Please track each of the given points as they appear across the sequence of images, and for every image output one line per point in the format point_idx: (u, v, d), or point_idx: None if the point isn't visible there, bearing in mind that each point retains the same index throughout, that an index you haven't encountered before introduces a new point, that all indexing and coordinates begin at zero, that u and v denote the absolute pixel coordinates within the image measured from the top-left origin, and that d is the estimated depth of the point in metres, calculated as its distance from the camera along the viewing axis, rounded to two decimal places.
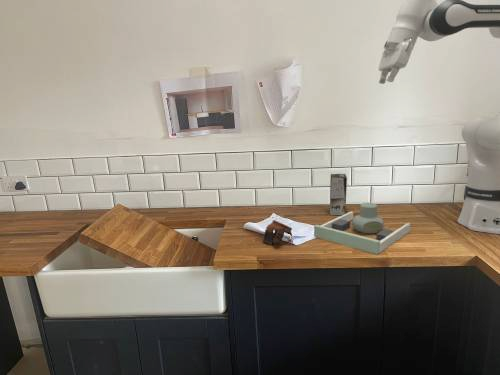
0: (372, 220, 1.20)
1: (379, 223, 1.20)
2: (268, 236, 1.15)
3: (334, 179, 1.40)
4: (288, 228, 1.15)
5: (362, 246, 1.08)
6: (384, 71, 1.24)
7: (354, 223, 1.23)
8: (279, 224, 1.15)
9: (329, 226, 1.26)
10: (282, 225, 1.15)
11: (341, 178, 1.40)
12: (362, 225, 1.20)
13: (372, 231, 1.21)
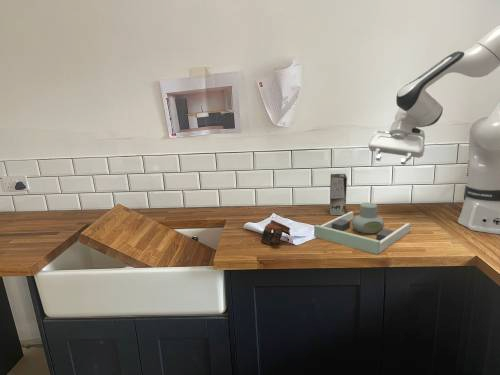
0: (372, 220, 1.20)
1: (379, 223, 1.20)
2: (266, 236, 1.15)
3: (334, 179, 1.40)
4: (286, 228, 1.16)
5: (362, 246, 1.08)
6: None
7: (354, 223, 1.23)
8: (277, 224, 1.15)
9: (329, 226, 1.26)
10: (280, 225, 1.15)
11: (341, 178, 1.40)
12: (362, 225, 1.20)
13: (372, 231, 1.21)
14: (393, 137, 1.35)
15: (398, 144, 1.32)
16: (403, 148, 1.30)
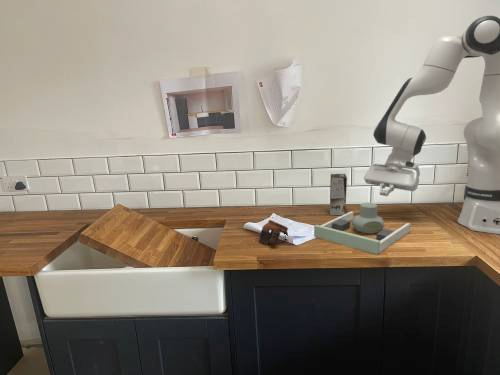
0: (372, 220, 1.20)
1: (379, 223, 1.20)
2: (264, 236, 1.16)
3: (334, 179, 1.40)
4: (284, 228, 1.16)
5: (362, 246, 1.08)
6: None
7: (354, 223, 1.23)
8: (275, 224, 1.15)
9: (329, 226, 1.26)
10: (278, 225, 1.15)
11: (341, 178, 1.40)
12: (362, 225, 1.20)
13: (372, 231, 1.21)
14: (388, 170, 1.36)
15: (392, 178, 1.33)
16: (396, 182, 1.31)
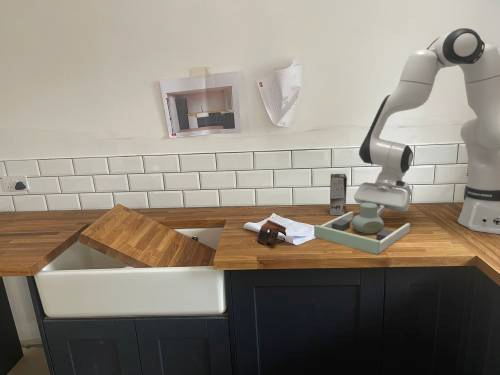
0: (372, 220, 1.20)
1: (379, 223, 1.20)
2: (262, 236, 1.16)
3: (334, 179, 1.40)
4: (282, 227, 1.16)
5: (362, 246, 1.08)
6: None
7: (354, 223, 1.23)
8: (273, 224, 1.16)
9: (329, 226, 1.26)
10: (276, 225, 1.15)
11: (341, 178, 1.40)
12: (362, 225, 1.20)
13: (372, 231, 1.20)
14: (378, 189, 1.31)
15: (382, 198, 1.28)
16: (386, 202, 1.26)
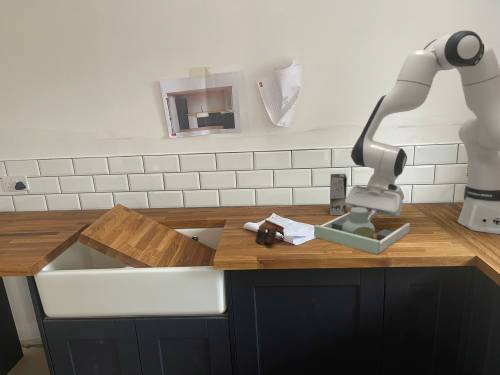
0: (362, 225, 1.15)
1: (370, 229, 1.15)
2: (260, 236, 1.16)
3: (334, 179, 1.40)
4: (280, 227, 1.16)
5: (362, 246, 1.08)
6: None
7: (344, 229, 1.18)
8: (271, 223, 1.16)
9: (329, 226, 1.26)
10: (274, 224, 1.16)
11: (341, 178, 1.40)
12: (352, 231, 1.15)
13: None
14: (369, 193, 1.26)
15: (374, 202, 1.23)
16: (378, 207, 1.21)
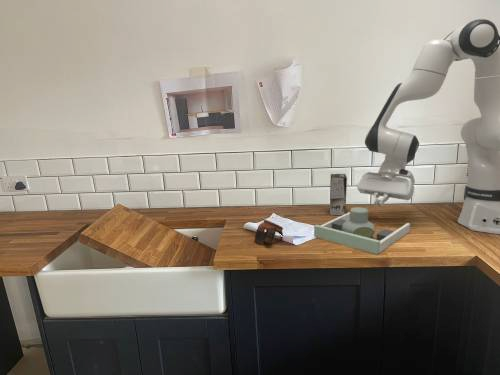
0: (362, 225, 1.15)
1: (370, 229, 1.15)
2: (259, 236, 1.16)
3: (334, 179, 1.40)
4: (279, 227, 1.16)
5: (362, 246, 1.08)
6: None
7: (344, 229, 1.18)
8: (270, 223, 1.16)
9: (329, 226, 1.26)
10: (273, 224, 1.16)
11: (341, 178, 1.40)
12: (352, 231, 1.15)
13: None
14: (381, 179, 1.31)
15: (386, 187, 1.28)
16: (390, 191, 1.26)
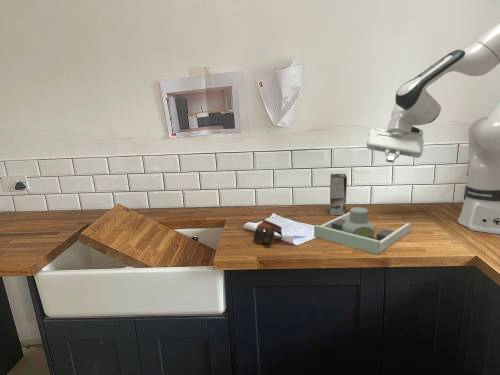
0: (362, 225, 1.15)
1: (370, 229, 1.15)
2: (258, 236, 1.16)
3: (334, 179, 1.40)
4: (278, 227, 1.16)
5: (362, 246, 1.08)
6: (395, 153, 1.32)
7: (344, 229, 1.18)
8: (269, 223, 1.16)
9: (329, 226, 1.26)
10: (272, 224, 1.16)
11: (341, 178, 1.40)
12: (352, 231, 1.15)
13: None
14: (392, 136, 1.33)
15: (398, 144, 1.31)
16: (402, 148, 1.29)
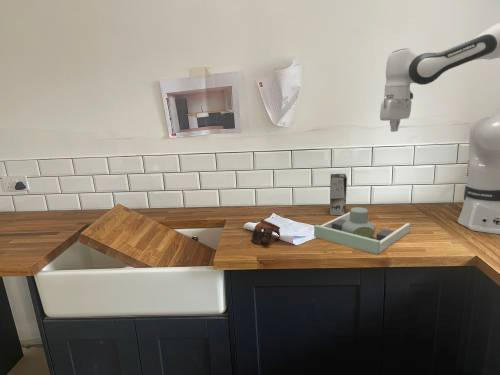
0: (362, 225, 1.15)
1: (370, 229, 1.15)
2: (256, 236, 1.16)
3: (334, 179, 1.40)
4: (276, 227, 1.17)
5: (362, 246, 1.08)
6: (395, 120, 1.34)
7: (344, 229, 1.18)
8: (267, 223, 1.16)
9: (329, 226, 1.26)
10: (270, 224, 1.16)
11: (341, 178, 1.40)
12: (352, 231, 1.15)
13: None
14: (399, 104, 1.30)
15: (401, 113, 1.32)
16: (403, 117, 1.34)
